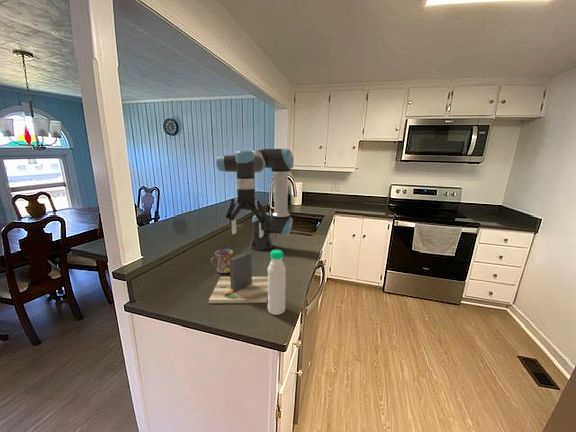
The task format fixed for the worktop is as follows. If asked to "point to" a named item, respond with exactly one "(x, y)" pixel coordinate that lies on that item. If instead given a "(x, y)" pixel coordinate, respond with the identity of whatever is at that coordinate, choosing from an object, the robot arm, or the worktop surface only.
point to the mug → (223, 260)
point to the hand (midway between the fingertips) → (247, 235)
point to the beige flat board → (241, 292)
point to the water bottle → (276, 283)
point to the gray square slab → (240, 272)
